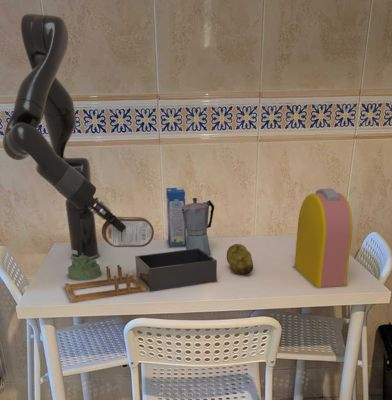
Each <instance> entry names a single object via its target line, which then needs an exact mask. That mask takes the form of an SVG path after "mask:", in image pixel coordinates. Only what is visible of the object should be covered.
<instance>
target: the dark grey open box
mask: <svg viewBox="0 0 392 400" xmlns="http://www.w3.org/2000/svg"><path fill="white" fill-rule="evenodd" d="M134 257H135V271H136V272H135V273H136V277H137V278H138V279H139V281H140V282H141V283H142V284H143V285H144V286H145V287H146V290H148V291H149V292H156V291H162V290H163V291H164V290H169V289H177V288H183V287H190V286H197V285H203V284H210V283H216V282H217V280H218V279H217V277H218V276H217V274H218V272H217V271H218V269H217V267H218V264H217V263H218V260H217V259H216V258H214V257H212V256H211V254H210V255H208V254H207V253H205V252H204V251H202V250H201V249H199V248H197V249H189V250H186V249H181V250H173V251H172V250H171V251H166V252H165V251H164V252H157V253H156V252H155V253H148V254H141V255H135V256H134Z"/></svg>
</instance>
